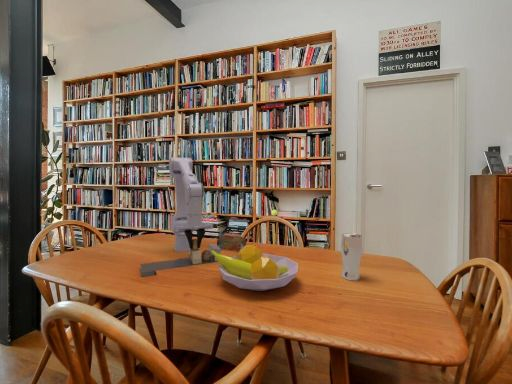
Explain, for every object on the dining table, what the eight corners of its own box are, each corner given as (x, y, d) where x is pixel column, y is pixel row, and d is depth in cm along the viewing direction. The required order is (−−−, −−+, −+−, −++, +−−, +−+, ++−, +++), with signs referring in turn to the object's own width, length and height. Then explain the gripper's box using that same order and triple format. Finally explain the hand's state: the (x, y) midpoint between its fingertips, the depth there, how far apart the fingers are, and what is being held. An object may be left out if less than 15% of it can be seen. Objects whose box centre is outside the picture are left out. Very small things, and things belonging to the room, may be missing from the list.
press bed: (140, 267, 103) (140, 251, 102) (215, 257, 116) (215, 243, 115) (142, 276, 94) (141, 258, 93) (223, 264, 107) (223, 248, 106)
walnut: (200, 258, 110) (200, 249, 109) (209, 257, 111) (209, 248, 111) (203, 261, 106) (203, 251, 106) (212, 259, 108) (211, 250, 108)
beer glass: (351, 282, 89) (352, 238, 89) (336, 275, 96) (337, 234, 95) (365, 279, 93) (366, 236, 92) (350, 272, 99) (351, 232, 98)
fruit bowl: (299, 271, 100) (299, 241, 100) (294, 305, 74) (295, 264, 73) (228, 265, 106) (227, 237, 105) (199, 295, 79) (199, 257, 79)
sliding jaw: (188, 258, 110) (188, 238, 109) (196, 257, 111) (196, 237, 110) (193, 264, 102) (193, 242, 102) (201, 263, 104) (201, 241, 103)
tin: (216, 251, 125) (216, 234, 125) (220, 250, 128) (220, 232, 128) (244, 256, 118) (244, 237, 118) (247, 254, 121) (247, 236, 121)
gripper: (177, 216, 99) (177, 252, 100) (215, 214, 105) (215, 248, 106) (174, 214, 105) (174, 248, 106) (210, 212, 112) (210, 244, 112)
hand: (194, 248), depth 106 cm, fingers closed on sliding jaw, 2 cm apart
